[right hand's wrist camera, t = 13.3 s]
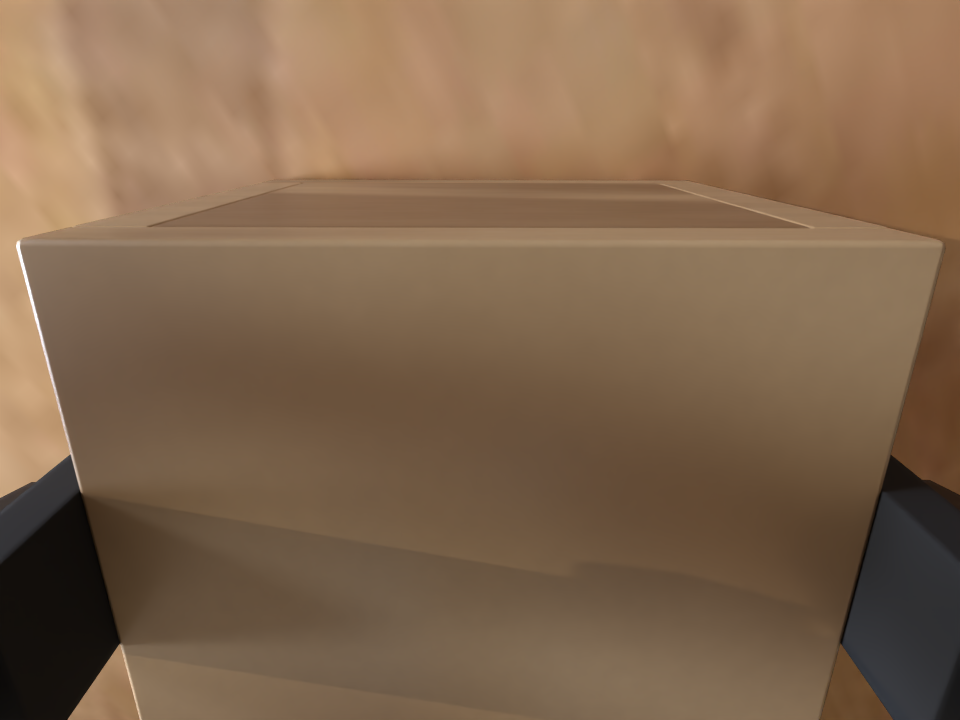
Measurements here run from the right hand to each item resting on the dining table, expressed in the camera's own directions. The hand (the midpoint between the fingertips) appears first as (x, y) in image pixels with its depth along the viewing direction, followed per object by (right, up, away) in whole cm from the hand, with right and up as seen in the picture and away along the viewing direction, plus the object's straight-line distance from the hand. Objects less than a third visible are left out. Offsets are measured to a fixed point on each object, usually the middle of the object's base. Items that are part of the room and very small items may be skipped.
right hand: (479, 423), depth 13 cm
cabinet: (0, -4, +7) cm, 8 cm away
